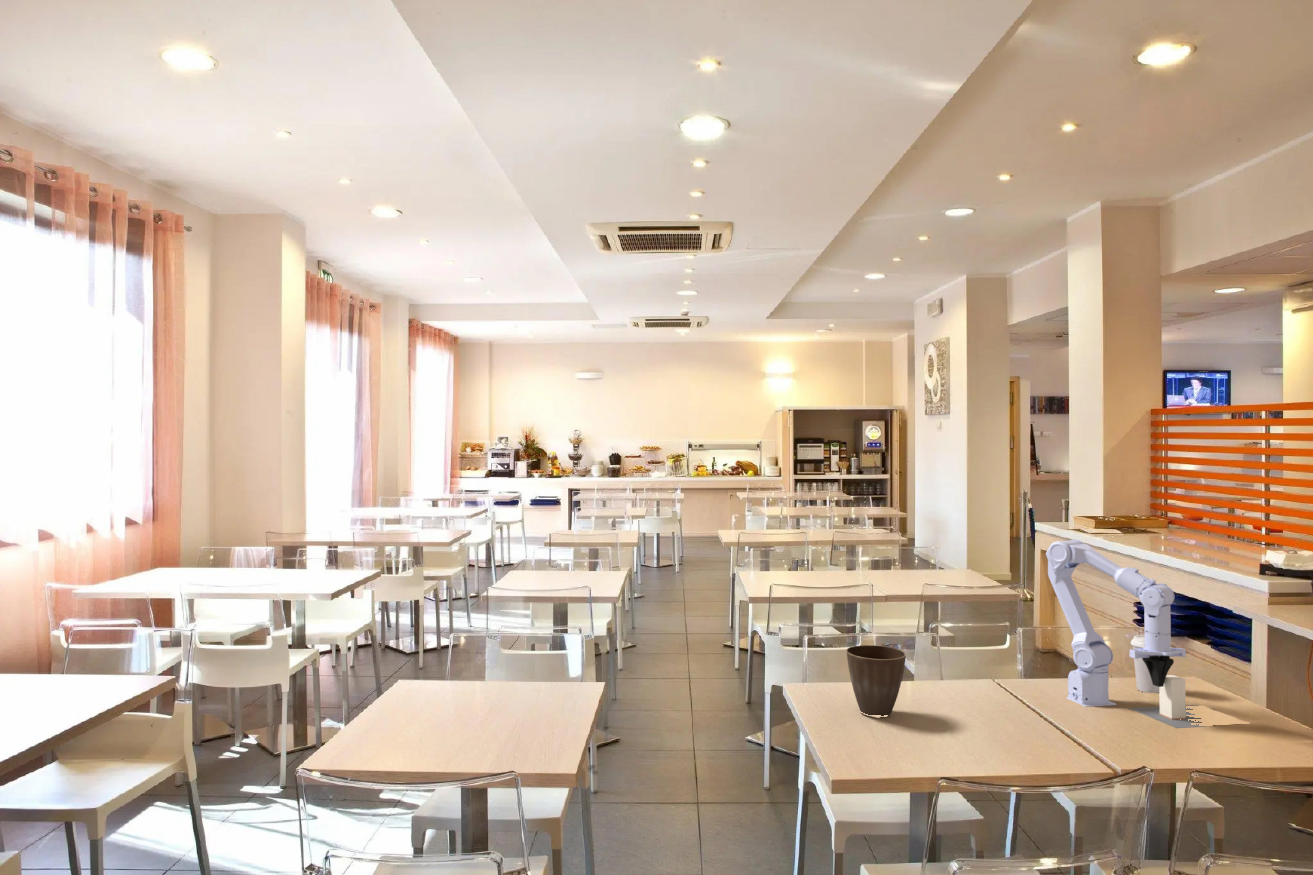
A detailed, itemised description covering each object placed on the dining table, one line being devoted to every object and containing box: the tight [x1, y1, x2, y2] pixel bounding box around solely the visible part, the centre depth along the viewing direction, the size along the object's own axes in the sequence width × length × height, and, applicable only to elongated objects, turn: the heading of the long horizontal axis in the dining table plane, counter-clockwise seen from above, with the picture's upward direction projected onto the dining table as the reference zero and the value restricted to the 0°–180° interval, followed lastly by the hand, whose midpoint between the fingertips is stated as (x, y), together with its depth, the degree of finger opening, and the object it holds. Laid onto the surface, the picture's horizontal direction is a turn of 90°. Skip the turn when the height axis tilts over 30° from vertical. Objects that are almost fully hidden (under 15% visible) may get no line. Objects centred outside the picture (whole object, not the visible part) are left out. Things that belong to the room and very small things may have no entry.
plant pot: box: [845, 644, 907, 716], centre depth 212 cm, size 15×15×16 cm
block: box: [1158, 674, 1187, 719], centre depth 210 cm, size 4×4×10 cm
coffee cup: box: [1130, 634, 1159, 694], centre depth 235 cm, size 10×10×15 cm
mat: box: [1128, 704, 1206, 729], centre depth 211 cm, size 22×16×1 cm
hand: (1157, 685), depth 209 cm, fingers closed
